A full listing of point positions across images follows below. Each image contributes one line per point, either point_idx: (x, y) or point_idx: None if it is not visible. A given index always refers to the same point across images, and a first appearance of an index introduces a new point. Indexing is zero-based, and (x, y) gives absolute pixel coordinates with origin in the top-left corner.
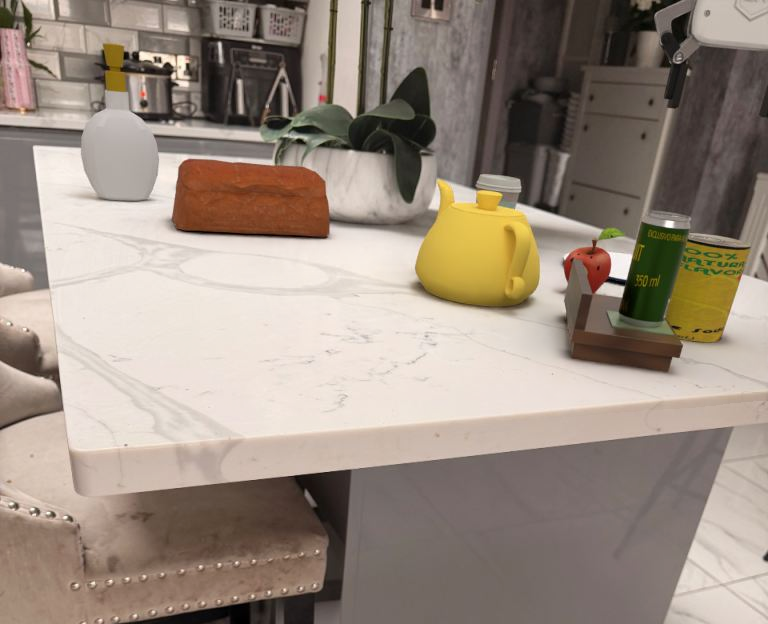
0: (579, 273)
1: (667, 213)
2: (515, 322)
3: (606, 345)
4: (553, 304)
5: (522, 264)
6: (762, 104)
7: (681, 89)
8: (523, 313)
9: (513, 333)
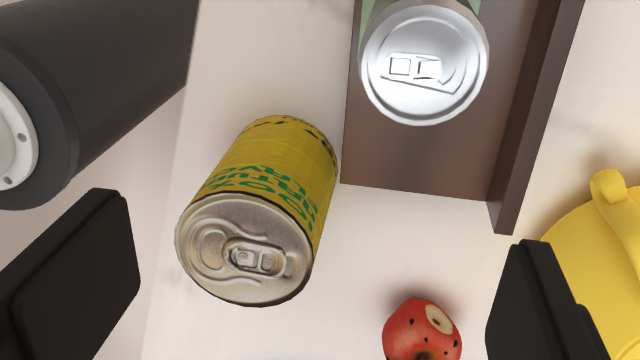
0: (547, 104)
1: (416, 94)
2: (606, 106)
3: None
4: (488, 242)
5: (620, 212)
6: (120, 306)
7: (537, 293)
8: (568, 170)
9: (637, 29)
